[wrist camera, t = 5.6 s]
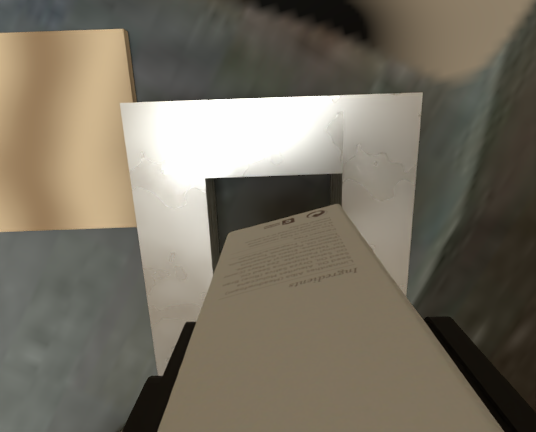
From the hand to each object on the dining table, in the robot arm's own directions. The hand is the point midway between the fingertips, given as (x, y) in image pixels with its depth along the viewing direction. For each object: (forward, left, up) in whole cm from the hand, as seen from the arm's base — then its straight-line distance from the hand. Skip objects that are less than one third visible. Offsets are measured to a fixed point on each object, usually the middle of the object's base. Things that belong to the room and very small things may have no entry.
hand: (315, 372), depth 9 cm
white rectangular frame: (+1, 0, -12) cm, 12 cm away
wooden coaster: (+13, -6, -12) cm, 18 cm away
